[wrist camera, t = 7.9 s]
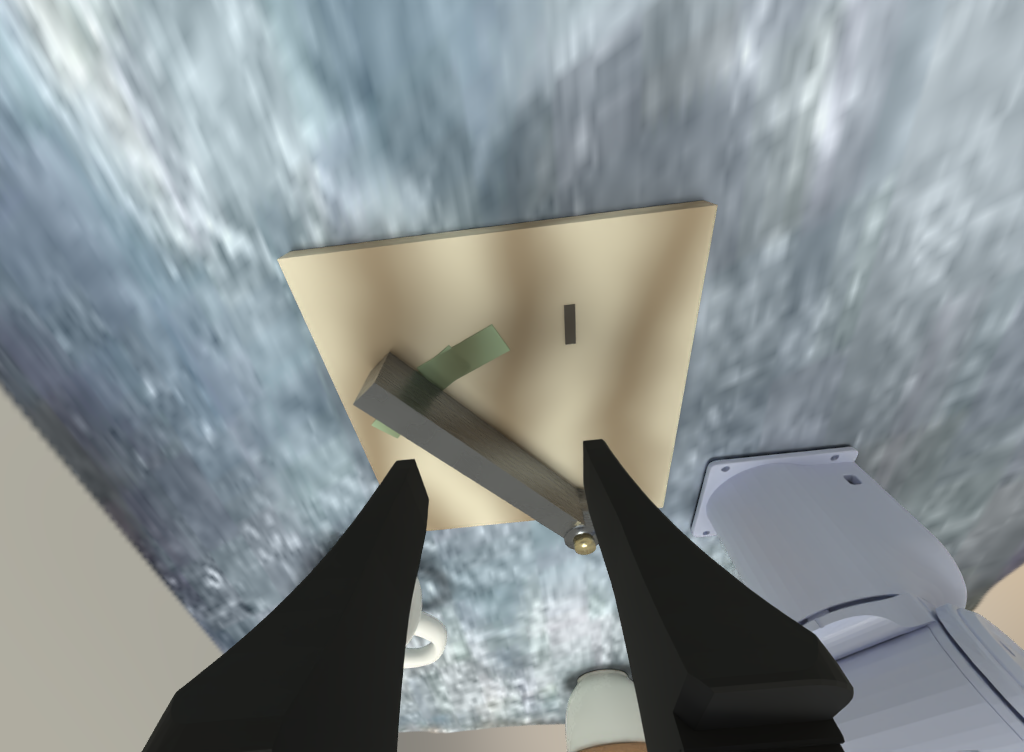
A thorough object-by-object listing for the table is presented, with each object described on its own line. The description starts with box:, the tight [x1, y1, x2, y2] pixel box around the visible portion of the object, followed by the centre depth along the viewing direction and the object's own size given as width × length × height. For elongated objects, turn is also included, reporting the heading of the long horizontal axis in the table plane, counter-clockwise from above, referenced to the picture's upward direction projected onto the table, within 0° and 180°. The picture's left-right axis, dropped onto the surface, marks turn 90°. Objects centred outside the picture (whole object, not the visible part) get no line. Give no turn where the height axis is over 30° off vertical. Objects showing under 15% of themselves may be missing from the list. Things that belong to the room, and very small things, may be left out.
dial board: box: [277, 200, 717, 531], centre depth 21 cm, size 18×19×1 cm
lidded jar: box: [565, 669, 647, 752], centre depth 41 cm, size 11×11×9 cm
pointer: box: [353, 352, 599, 555], centre depth 20 cm, size 2×16×3 cm, turn 44°
